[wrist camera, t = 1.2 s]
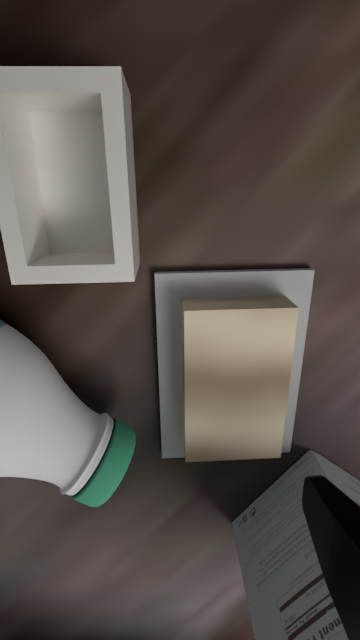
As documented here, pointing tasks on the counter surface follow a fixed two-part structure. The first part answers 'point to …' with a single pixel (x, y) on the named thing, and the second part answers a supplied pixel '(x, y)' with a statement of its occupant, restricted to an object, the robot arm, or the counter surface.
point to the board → (236, 376)
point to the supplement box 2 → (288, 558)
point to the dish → (67, 175)
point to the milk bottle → (55, 427)
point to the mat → (219, 285)
